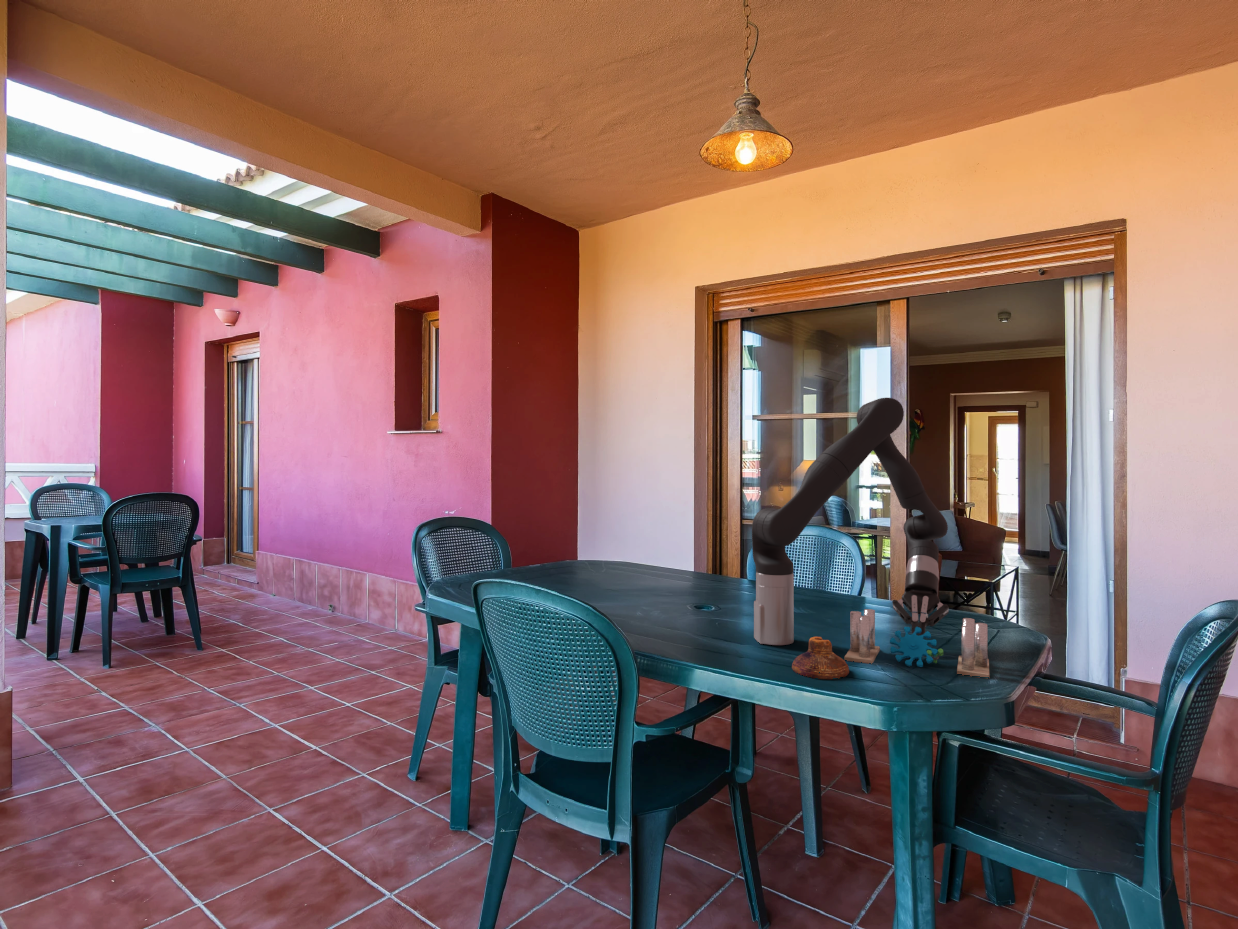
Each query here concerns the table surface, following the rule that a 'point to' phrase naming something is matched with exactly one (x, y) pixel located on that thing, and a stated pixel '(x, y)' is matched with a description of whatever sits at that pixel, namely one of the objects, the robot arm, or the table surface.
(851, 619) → the spacers
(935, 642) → the gear
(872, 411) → the robot arm
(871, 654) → the rack
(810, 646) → the bell
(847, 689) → the table surface
